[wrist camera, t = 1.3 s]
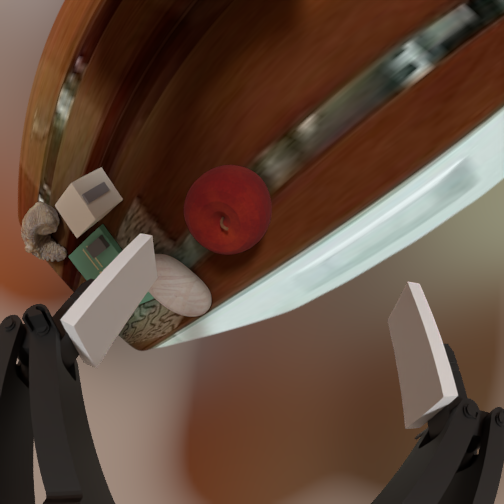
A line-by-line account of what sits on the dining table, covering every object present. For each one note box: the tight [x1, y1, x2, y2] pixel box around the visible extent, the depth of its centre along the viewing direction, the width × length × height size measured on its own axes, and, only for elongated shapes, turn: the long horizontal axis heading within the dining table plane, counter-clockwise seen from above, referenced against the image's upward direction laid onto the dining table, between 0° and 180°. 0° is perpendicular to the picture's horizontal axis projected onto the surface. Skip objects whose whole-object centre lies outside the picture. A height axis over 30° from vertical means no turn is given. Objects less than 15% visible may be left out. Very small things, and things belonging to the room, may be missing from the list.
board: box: [69, 224, 154, 305], centre depth 46 cm, size 16×14×4 cm
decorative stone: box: [149, 254, 212, 317], centre depth 42 cm, size 13×9×5 cm
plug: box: [55, 167, 123, 238], centre depth 35 cm, size 6×7×7 cm
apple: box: [184, 165, 271, 255], centre depth 30 cm, size 10×10×10 cm
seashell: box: [21, 201, 67, 262], centre depth 42 cm, size 14×10×10 cm
